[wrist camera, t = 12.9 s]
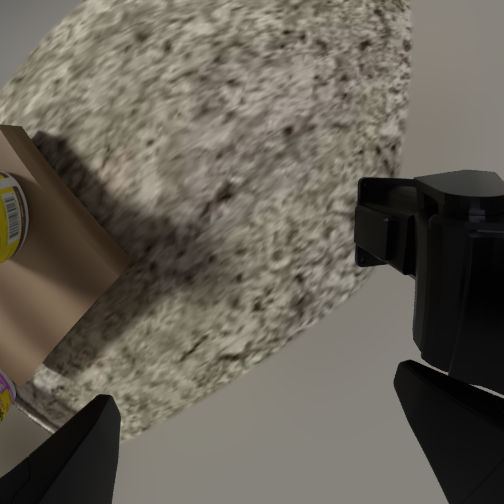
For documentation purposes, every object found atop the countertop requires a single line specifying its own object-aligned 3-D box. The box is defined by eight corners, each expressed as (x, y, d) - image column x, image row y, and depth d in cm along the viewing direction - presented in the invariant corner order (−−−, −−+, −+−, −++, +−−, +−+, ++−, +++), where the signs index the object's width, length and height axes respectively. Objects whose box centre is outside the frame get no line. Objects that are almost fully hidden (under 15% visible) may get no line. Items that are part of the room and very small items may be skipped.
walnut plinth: (28, 127, 15) (-3, 124, 12) (136, 254, 19) (119, 276, 16) (-45, 264, 17) (-69, 279, 13) (38, 362, 21) (20, 388, 17)
